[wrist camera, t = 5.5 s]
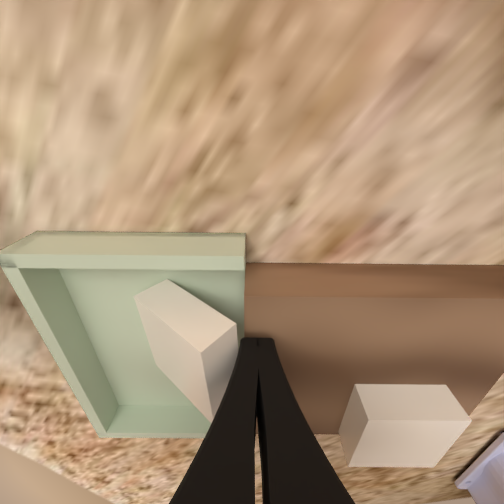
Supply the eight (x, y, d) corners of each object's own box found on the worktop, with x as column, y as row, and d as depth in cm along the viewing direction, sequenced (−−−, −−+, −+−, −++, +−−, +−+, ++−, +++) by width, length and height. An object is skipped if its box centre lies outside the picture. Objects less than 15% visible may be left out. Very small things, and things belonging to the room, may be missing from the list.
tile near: (241, 396, 11) (214, 426, 10) (182, 344, 13) (156, 364, 12) (236, 323, 9) (200, 352, 8) (167, 278, 11) (133, 296, 10)
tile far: (415, 432, 14) (433, 467, 12) (338, 431, 14) (347, 466, 12) (445, 384, 12) (472, 420, 10) (354, 383, 12) (368, 420, 10)
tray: (246, 405, 17) (245, 438, 15) (115, 404, 17) (99, 437, 15) (245, 233, 11) (243, 256, 9) (36, 231, 11) (-7, 253, 9)
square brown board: (427, 393, 16) (453, 435, 14) (245, 392, 16) (245, 433, 14) (504, 265, 11) (562, 299, 9) (245, 262, 11) (244, 296, 9)
